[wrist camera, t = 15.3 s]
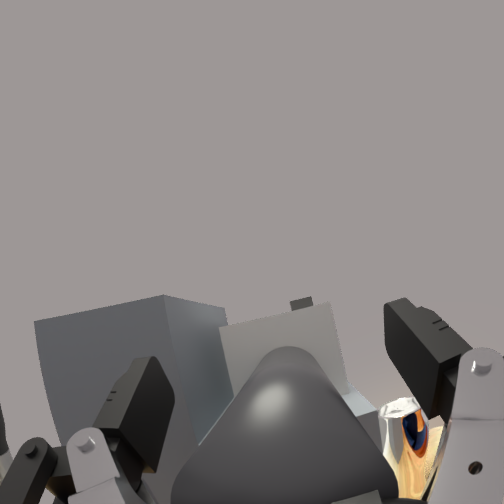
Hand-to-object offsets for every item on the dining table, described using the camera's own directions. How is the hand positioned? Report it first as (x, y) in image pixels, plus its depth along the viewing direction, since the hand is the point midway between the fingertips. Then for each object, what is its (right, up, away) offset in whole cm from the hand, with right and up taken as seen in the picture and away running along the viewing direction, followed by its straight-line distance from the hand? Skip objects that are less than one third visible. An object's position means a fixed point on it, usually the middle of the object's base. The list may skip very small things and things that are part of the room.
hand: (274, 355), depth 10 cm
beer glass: (+21, -30, +16) cm, 40 cm away
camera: (+2, -5, +4) cm, 7 cm away
